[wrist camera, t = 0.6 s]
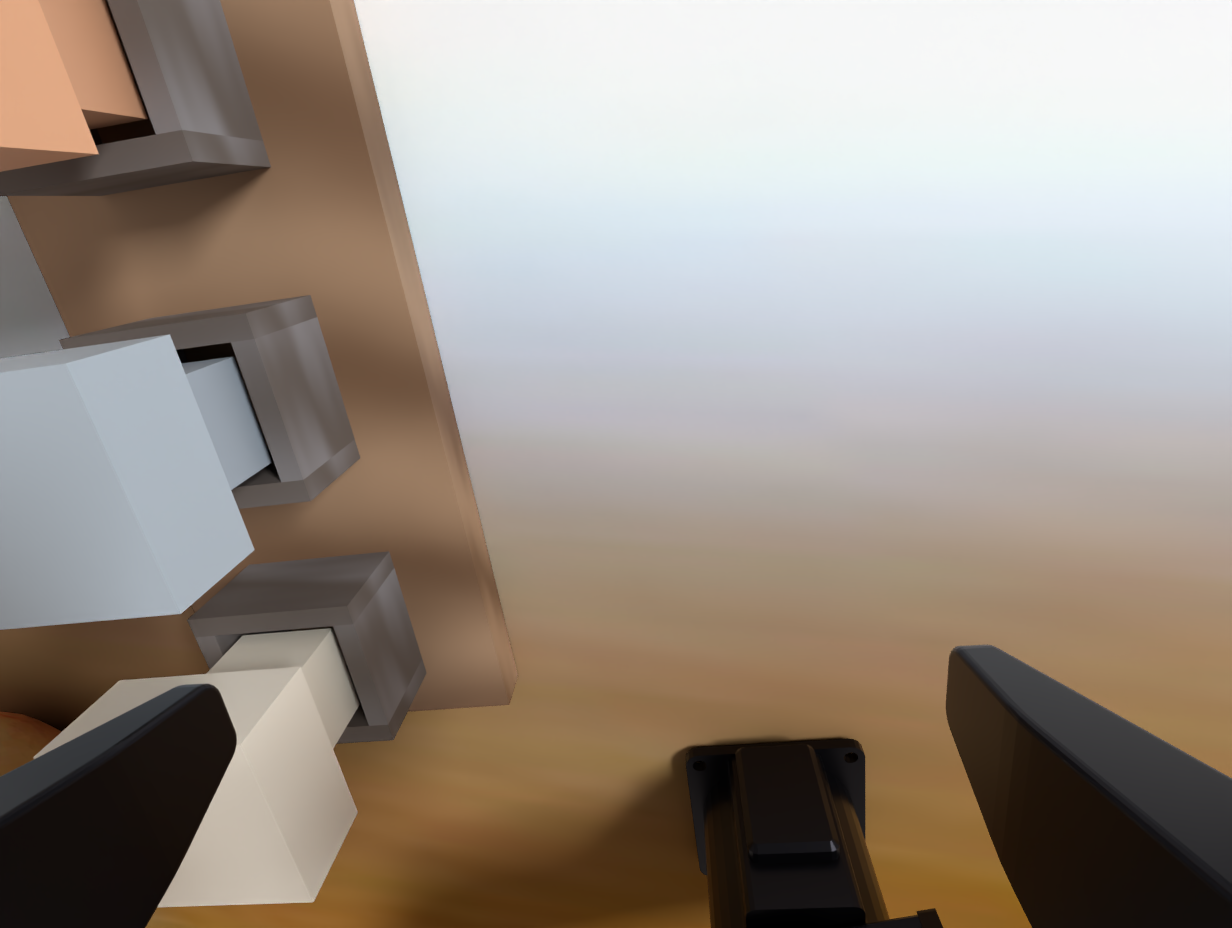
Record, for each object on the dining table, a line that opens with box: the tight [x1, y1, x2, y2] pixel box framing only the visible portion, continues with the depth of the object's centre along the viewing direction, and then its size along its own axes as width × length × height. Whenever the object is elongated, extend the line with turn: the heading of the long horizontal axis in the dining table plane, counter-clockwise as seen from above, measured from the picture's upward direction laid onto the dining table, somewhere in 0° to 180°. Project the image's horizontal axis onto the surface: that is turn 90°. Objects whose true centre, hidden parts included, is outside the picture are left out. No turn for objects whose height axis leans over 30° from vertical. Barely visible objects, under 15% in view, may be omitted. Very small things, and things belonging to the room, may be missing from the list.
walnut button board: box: [0, 0, 518, 744], centre depth 18 cm, size 24×10×4 cm, turn 8°
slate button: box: [0, 334, 272, 630], centre depth 14 cm, size 5×5×5 cm
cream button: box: [33, 628, 360, 907], centre depth 17 cm, size 5×5×5 cm
